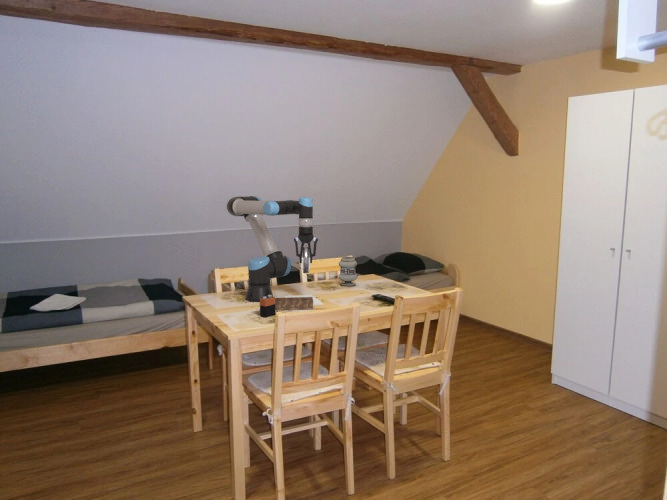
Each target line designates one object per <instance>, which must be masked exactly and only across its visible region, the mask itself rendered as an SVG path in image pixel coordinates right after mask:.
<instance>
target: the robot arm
mask: <svg viewBox="0 0 667 500" xmlns="http://www.w3.org/2000/svg"><path fill="white" fill-rule="evenodd" d="M313 200H314V199H313V198H312V197H309V196H308V197H307V196H302V197H300V196H299V198H298V200H296V199H295V200H293V199H286V200H262V199H261V197H258V196H254V195H248V196H247V195H246V196H234V197H231V198H230V199H229V200H227V203H226V209H227V212H228V213H229V215H231V216H234V217H243V219H244V220H245V222H247V223H249V225H250V227H251V230H252V231H253V233H254V236H255V238H256V241H257V243H258V245H259V247H260V249H261V251H262V253H263V256H262V255H261V256H255V257H252V258H250V259H249V260H248V266H247V269H248V270H247V271H248V287H247V290H246V294H245V300H246V301H247V302H252V303H253V302H254V303H260V298H263V297H264V296H266V297H267V296H268V295H272V297H274V294H273V291H272V288H271V284H270V283H271V282H270V280H271V279H275V278H277V279H278V278H282V277H285V276H288V275H289V274H290V272H291V270H292V269H291V268H292V261H291V259H290V258H289V257H288V256H287V255H284V254H283V252H282V250H279V248H278V247H277V245H276V242H275V240H274V239H273V238H274V237H272V234H271V232H270V230H269V228H268V226H267V223H266V221H265V219H264V216H265V215H266V216H270V217H271V216H272V217H273V216H284V215H298V226H299V227H298V235H297V237H294V238H293V242H294V244H295V254H296V255H295V256H296V257H298V258H299V263H300V264H301V270H302V271H303V247H305V246H304V245H305V244H307V247H309V270H311V264H312V263H313V258H314V257H316V251H317V243H318V241H319V239H318V237H315V236H314V233H313V232H314V227H313V224H314V216H313V215H314V203H313ZM312 241H313V251H312V247H311V242H312ZM298 242H301V245H300V251H299V247H298Z"/></svg>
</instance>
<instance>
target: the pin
mask: <svg viewBox="0 0 667 500" xmlns="http://www.w3.org/2000/svg"><path fill="white" fill-rule="evenodd" d="M302 257H303V270H302V273H303V274H309V272H310V271H309V257H310V254H309V247H308V246H303V253H302Z"/></svg>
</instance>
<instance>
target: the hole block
mask: <svg viewBox="0 0 667 500" xmlns="http://www.w3.org/2000/svg"><path fill="white" fill-rule="evenodd" d="M306 310H307V311H308V310H309V311H310V310H314V298H313V296H299V297H297V296H295V297H292V296H291V297H289V296H288V297H275V311H306Z"/></svg>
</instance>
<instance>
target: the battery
mask: <svg viewBox="0 0 667 500" xmlns="http://www.w3.org/2000/svg"><path fill="white" fill-rule="evenodd" d="M275 298H276V297H275V296H273V297H272V295H268V296H267V297H266V296H264V297H263V298H260V302H259V315H260V316H259V317H262V318H264V319H265V318H268V317H269V318H270V317H272V316H276V310H275Z"/></svg>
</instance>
